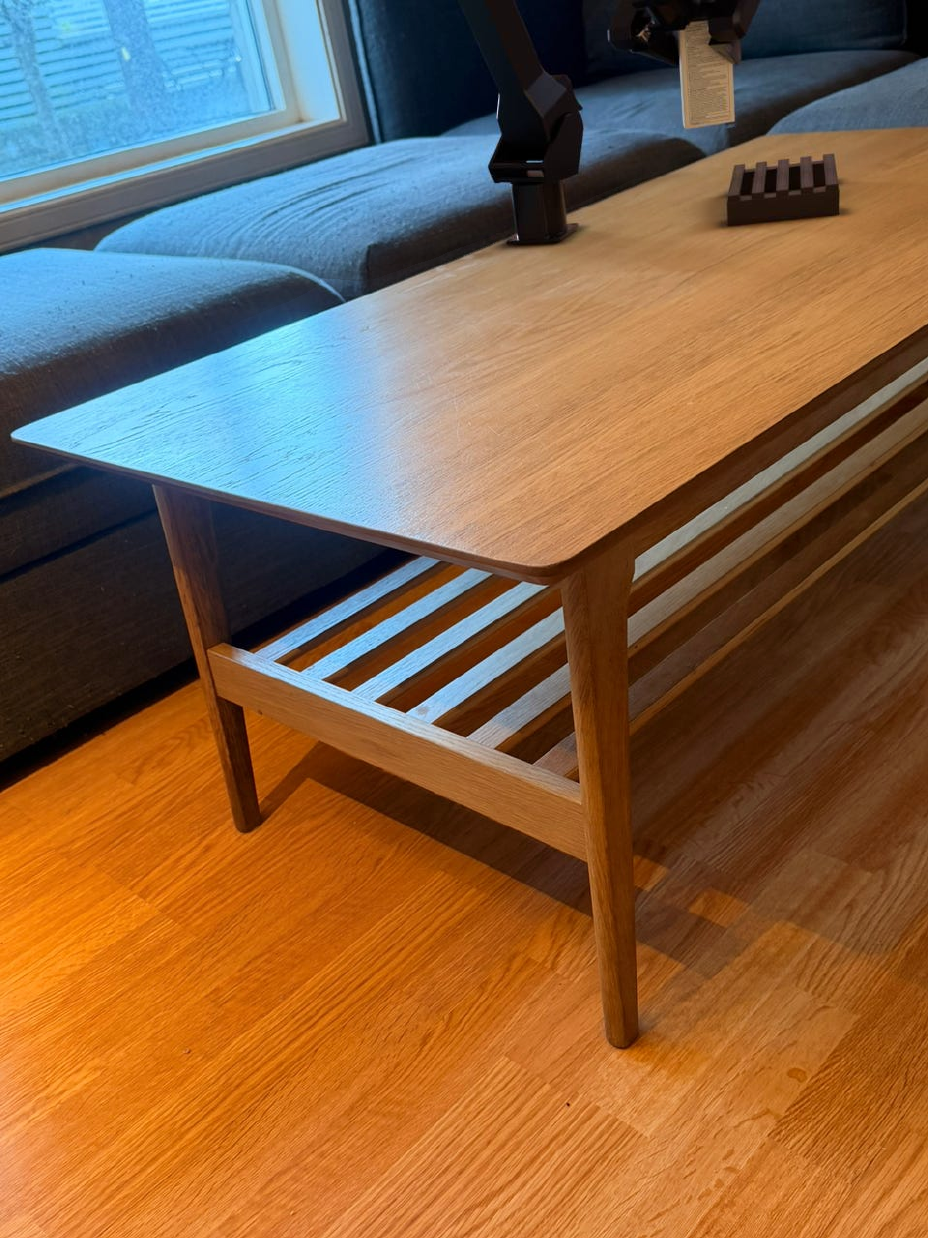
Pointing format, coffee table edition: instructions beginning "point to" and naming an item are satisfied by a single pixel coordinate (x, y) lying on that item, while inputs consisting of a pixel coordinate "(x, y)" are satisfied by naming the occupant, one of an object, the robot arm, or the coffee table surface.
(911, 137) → the coffee table surface
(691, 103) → the cosmetic box
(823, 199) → the rack
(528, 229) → the robot arm
